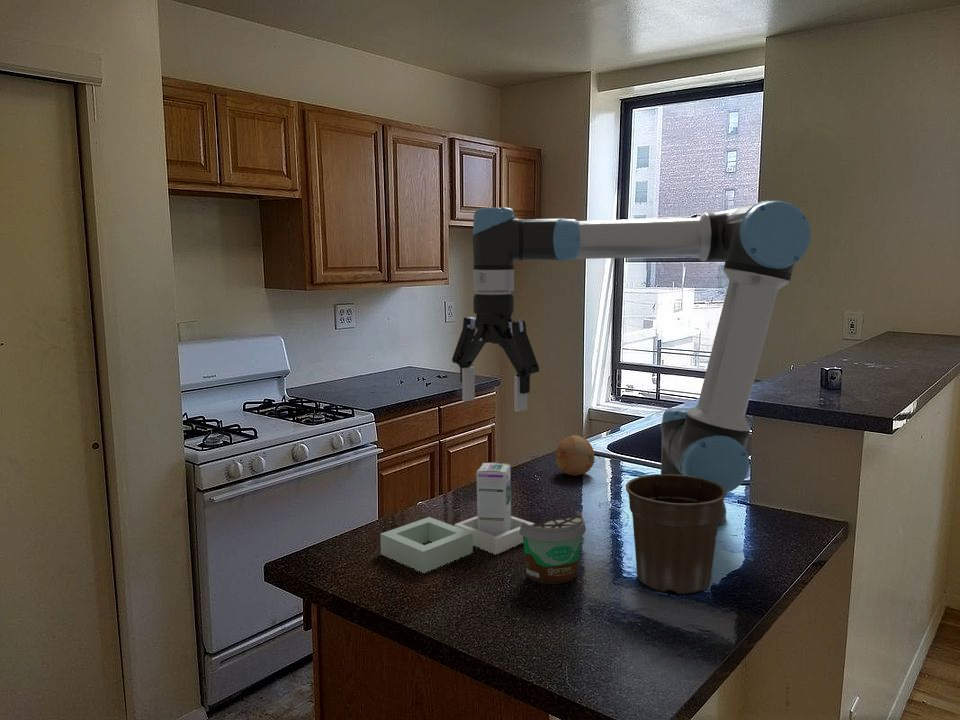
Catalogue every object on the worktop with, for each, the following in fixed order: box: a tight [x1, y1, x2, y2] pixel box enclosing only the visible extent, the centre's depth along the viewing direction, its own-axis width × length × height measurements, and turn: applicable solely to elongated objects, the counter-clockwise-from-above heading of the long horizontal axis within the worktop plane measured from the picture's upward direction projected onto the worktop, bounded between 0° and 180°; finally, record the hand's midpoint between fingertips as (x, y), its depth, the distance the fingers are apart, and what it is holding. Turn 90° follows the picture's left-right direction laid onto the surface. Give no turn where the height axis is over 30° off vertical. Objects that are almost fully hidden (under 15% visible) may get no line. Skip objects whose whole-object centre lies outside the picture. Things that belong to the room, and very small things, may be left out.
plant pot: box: [625, 473, 727, 595], centre depth 123 cm, size 16×16×16 cm
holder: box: [453, 515, 536, 556], centre depth 142 cm, size 11×11×3 cm
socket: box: [379, 516, 474, 574], centre depth 135 cm, size 12×12×4 cm
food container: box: [519, 510, 587, 585], centre depth 124 cm, size 12×6×10 cm, turn 118°
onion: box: [555, 434, 595, 477], centre depth 182 cm, size 10×10×10 cm
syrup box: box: [475, 462, 512, 536], centre depth 141 cm, size 6×6×14 cm
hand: (493, 405), depth 139 cm, fingers open, 13 cm apart
